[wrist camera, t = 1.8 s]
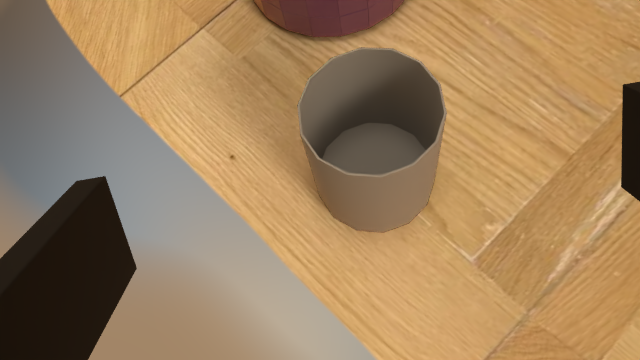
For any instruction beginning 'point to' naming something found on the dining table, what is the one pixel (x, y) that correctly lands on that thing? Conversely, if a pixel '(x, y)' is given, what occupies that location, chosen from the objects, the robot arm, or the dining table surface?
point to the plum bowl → (327, 15)
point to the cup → (373, 136)
